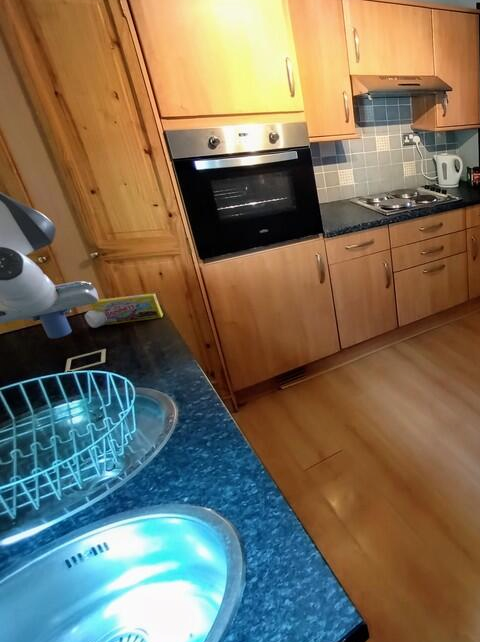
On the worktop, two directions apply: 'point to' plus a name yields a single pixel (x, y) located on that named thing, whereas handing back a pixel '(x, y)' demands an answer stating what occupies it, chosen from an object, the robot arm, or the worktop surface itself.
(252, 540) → the worktop surface
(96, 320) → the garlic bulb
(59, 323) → the blue bottle
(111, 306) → the candy box
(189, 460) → the worktop surface
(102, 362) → the spot outline
